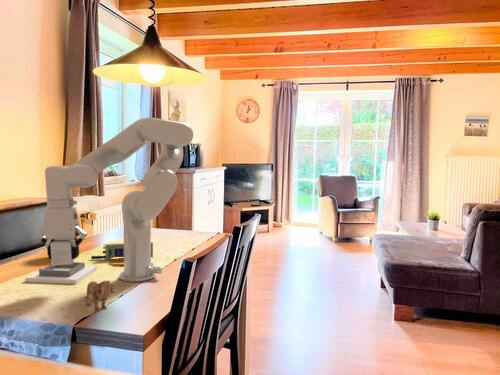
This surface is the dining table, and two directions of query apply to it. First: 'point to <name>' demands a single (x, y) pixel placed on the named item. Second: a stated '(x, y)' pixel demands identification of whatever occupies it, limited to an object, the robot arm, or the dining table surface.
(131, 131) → the robot arm
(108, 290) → the lion figurine
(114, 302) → the dining table surface
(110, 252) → the handheld radio
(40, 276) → the dock
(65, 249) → the product box
